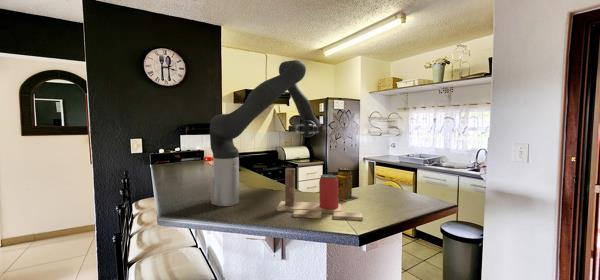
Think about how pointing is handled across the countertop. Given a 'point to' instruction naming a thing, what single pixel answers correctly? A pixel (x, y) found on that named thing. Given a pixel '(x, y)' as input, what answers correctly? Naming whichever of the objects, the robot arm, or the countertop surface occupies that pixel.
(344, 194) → the condiment
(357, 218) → the broken strip
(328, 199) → the beer can
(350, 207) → the countertop surface
